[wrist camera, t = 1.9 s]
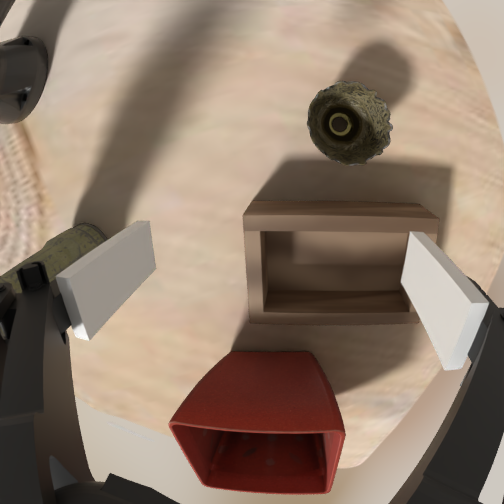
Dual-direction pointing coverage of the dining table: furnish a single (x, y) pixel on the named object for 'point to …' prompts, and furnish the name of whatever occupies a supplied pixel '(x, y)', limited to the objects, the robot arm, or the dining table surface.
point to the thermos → (60, 253)
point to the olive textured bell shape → (349, 123)
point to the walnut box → (330, 261)
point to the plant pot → (262, 425)
